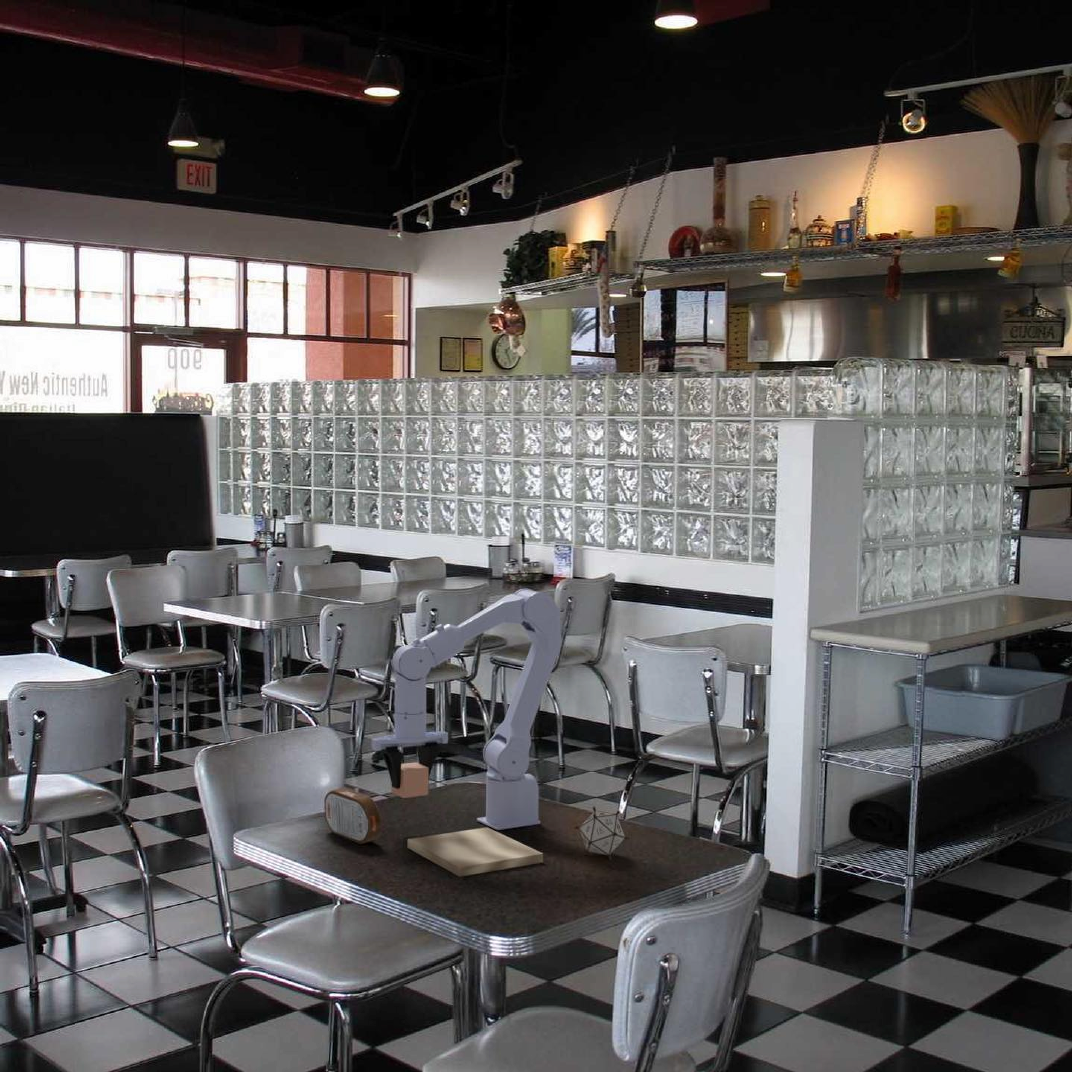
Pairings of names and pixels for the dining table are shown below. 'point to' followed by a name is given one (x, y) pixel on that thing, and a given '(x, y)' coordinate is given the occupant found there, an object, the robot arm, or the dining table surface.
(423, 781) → the terracotta cube
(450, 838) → the maple board
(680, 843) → the dining table surface
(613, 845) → the game die
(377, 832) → the tin
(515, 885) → the dining table surface
